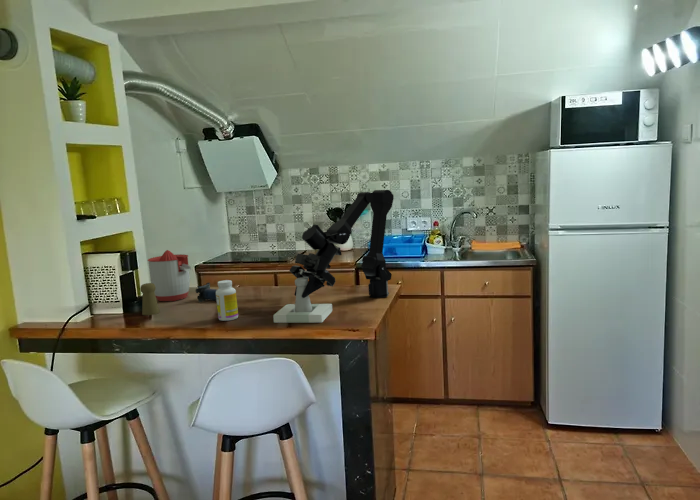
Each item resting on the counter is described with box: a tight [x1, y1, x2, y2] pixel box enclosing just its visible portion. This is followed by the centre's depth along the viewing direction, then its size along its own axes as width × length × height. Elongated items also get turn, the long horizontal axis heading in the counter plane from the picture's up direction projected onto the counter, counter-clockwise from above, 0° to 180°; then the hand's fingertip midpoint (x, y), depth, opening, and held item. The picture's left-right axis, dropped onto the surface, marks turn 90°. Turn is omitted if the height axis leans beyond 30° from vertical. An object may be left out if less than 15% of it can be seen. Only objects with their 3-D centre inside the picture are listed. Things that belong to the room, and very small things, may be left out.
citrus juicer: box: [147, 249, 192, 302], centre depth 221 cm, size 16×17×20 cm
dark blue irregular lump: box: [195, 282, 218, 303], centre depth 214 cm, size 9×8×12 cm
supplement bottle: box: [215, 279, 239, 322], centre depth 184 cm, size 7×7×13 cm
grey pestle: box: [294, 277, 312, 312], centre depth 181 cm, size 6×6×13 cm
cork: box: [139, 282, 160, 316], centre depth 199 cm, size 6×6×11 cm
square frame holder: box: [272, 303, 333, 324], centre depth 182 cm, size 16×14×2 cm
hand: (298, 296), depth 180 cm, fingers closed on grey pestle, 4 cm apart
